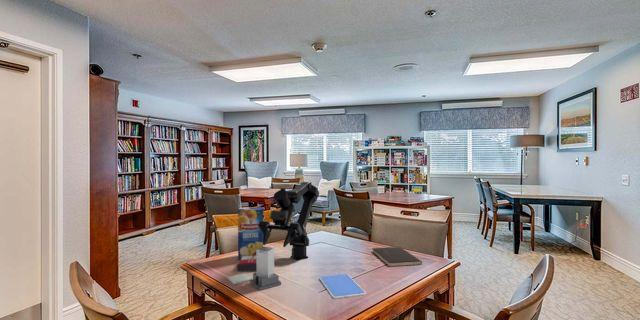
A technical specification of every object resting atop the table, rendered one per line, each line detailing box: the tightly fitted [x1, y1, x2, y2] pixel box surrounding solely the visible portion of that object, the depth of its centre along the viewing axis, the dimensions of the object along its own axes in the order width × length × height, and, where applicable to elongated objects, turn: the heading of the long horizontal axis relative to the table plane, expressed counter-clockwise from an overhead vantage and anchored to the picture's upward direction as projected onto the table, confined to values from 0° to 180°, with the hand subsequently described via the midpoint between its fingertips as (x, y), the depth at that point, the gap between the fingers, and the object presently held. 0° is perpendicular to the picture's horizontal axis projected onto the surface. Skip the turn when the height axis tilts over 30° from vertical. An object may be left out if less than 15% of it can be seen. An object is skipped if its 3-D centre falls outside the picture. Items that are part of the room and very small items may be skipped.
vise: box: [249, 271, 282, 291], centre depth 121 cm, size 9×9×6 cm
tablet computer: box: [318, 273, 367, 300], centre depth 118 cm, size 19×13×1 cm, turn 15°
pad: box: [226, 272, 253, 285], centre depth 126 cm, size 8×8×1 cm
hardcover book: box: [371, 246, 423, 267], centre depth 153 cm, size 16×23×2 cm
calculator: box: [236, 256, 257, 272], centre depth 141 cm, size 11×4×15 cm
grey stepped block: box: [256, 246, 275, 278], centre depth 120 cm, size 7×5×10 cm
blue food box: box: [237, 206, 264, 261], centre depth 155 cm, size 12×8×24 cm, turn 100°
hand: (273, 245), depth 128 cm, fingers open, 9 cm apart
